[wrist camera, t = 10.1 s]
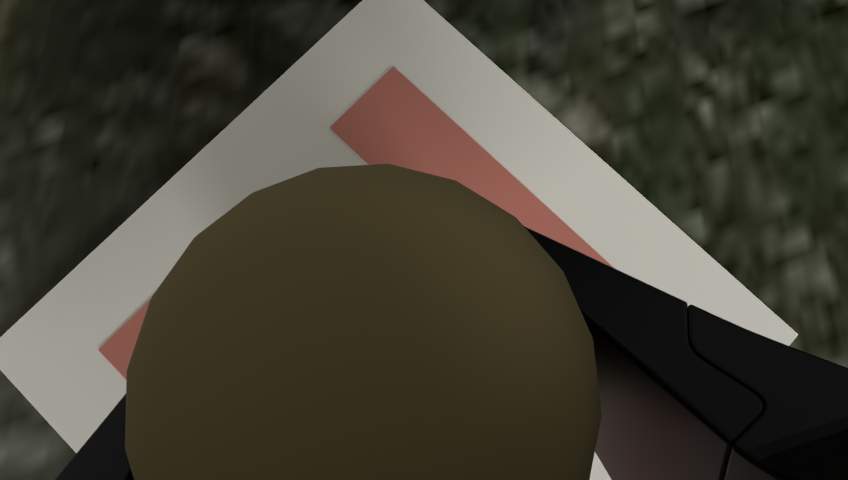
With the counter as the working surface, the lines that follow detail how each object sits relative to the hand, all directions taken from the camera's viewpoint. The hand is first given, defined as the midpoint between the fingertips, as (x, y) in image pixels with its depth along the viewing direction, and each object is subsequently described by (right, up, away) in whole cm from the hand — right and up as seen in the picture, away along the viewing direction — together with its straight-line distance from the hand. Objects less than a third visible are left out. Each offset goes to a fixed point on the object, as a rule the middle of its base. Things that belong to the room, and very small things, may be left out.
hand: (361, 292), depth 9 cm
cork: (0, -2, +6) cm, 7 cm away
